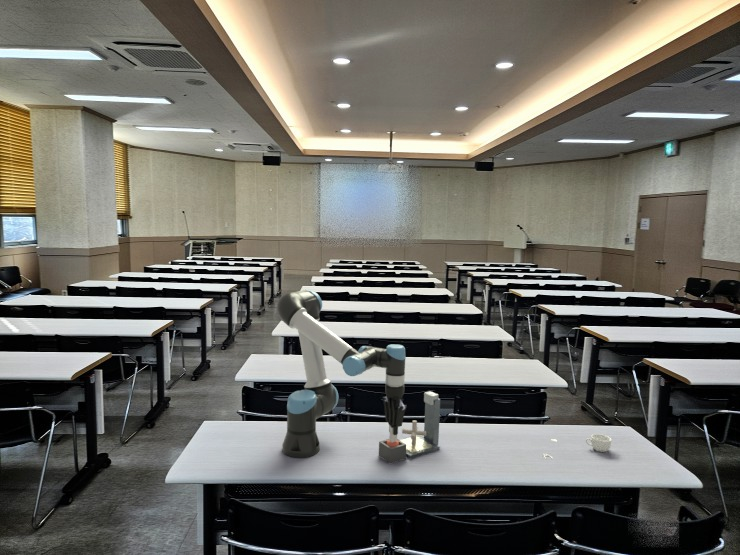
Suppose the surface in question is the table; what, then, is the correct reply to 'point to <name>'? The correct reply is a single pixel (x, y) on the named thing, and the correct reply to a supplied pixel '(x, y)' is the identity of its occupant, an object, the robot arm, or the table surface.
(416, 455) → the press frame
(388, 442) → the press button
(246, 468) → the table surface
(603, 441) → the teacup
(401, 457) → the button housing
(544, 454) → the paper
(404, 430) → the pipe connector
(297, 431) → the robot arm
